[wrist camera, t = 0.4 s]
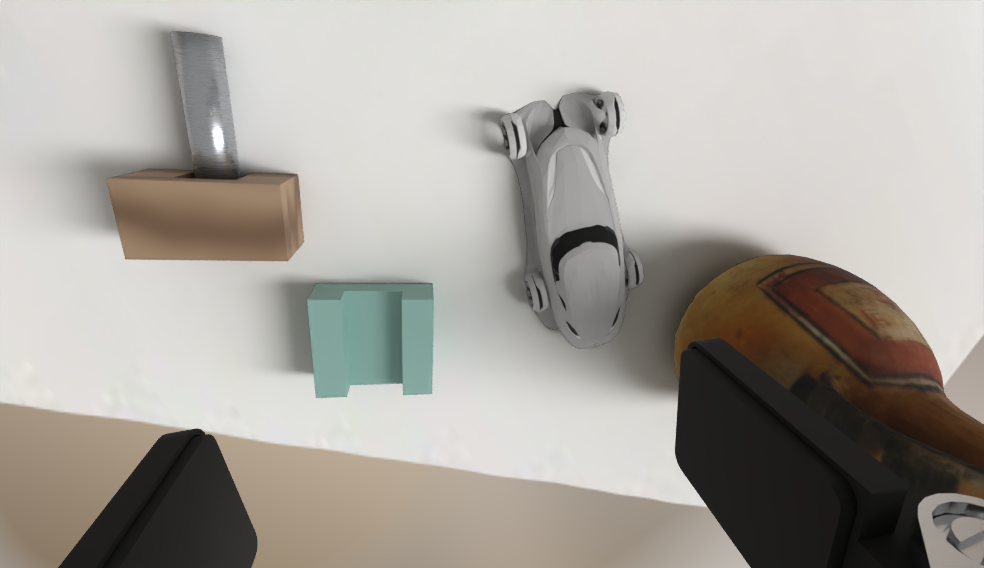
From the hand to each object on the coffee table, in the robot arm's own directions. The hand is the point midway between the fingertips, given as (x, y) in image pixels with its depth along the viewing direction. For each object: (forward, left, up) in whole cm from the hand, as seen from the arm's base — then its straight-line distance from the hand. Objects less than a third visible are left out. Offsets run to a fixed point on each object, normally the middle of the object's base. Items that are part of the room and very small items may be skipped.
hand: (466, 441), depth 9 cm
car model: (+4, +14, -35) cm, 38 cm away
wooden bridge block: (+3, -17, -35) cm, 39 cm away
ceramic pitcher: (+15, +35, -35) cm, 51 cm away
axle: (-3, -17, -35) cm, 39 cm away
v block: (+15, -5, -35) cm, 38 cm away
